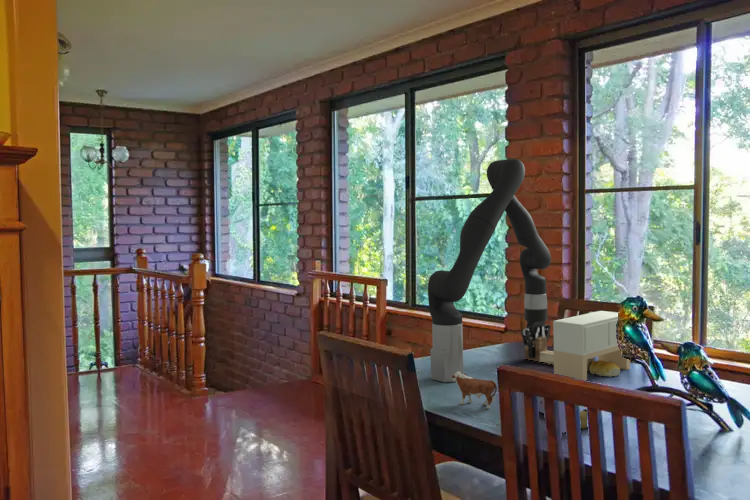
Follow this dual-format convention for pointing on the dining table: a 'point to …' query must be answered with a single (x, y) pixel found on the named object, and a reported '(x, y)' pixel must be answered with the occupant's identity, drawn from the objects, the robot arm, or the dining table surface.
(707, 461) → the dining table surface
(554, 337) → the cabinet
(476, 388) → the bull figurine
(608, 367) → the bread roll
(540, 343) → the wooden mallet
